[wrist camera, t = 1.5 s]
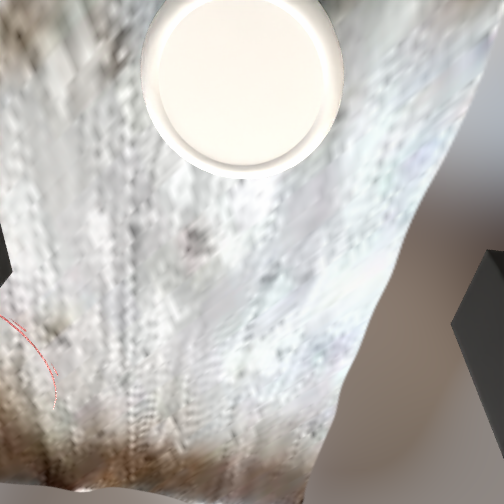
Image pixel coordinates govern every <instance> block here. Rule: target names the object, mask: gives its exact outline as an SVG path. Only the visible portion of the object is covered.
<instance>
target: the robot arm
mask: <svg viewBox="0 0 504 504" xmlns="http://www.w3.org/2000/svg"><path fill="white" fill-rule="evenodd" d="M11 273H12V268H11V264H10V260H9V256H8V252H7V248H6V244H5V240H4V236H3V232H2V228H1V224H0V287H1V286H2V285H3V284H4V282H5V281H6V280H7V278H8V277H9V276H10V275H11ZM451 326H452V329H453V331H454V334H455V336H456V339H457V341H458V344H459V346H460V349H461V352H462V354H463V357H464V359H465V362H466V364H467V367H468V369H469V372H470V375H471V377H472V379H473V382H474V385H475V387H476V389H477V392H478V395H479V397H480V400H481V402H482V405H483V407H484V410H485V412H486V415H487V417H488V420H489V423H490V425H491V428H492V430H493V433H494V435H495V438H496V440H497V443H498V445H499V448H500V450H501V453H502V456H503V458H504V251H496V250H486V252H485V255H484V257H483V259H482V261H481V263H480V265H479V267H478V269H477V271H476V273H475V275H474V277H473V279H472V281H471V284H470V285H469V287H468V289H467V292H466V294H465V296H464V298H463V300H462V302H461V304H460V306H459V308H458V310H457V312H456V314H455V316H454V318H453V320H452V322H451Z"/></svg>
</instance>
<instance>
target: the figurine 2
mask: <svg viewBox="0 0 504 504" xmlns="http://www.w3.org/2000/svg"><path fill="white" fill-rule="evenodd" d="M0 317H1V318H3V319H4V320H6V321H7V322H8V323H9V324H10V325H12V326H13V327H14V328H15V329H16V330H18V331H19V332H20V333H21V334H22V335H23V336H24V337H25V338H26V339H27V340H28V341H29V342H30V343H31V344H32V345H33V347H34V348H35V349H36V350H37V352H38V353H39V354H40V356H41V357H42V359H43V360H44V361H45V363H46V365H47V367H48V369H49V371H50V373H51V375H52V378H53V374H52V372H51V370H50V368H49V366H48V364H47V362H46V360H45V359H44V358H43V356H42V355H41V353H40V352H39V351H38V349H37V348H36V346H35V345H34V344H33V343H32V342H31V341H30V340H29V339H28V338H27V337H26V336H25V335H24V334H23V333H22V332H21V331H20V330H19V329H18V328H16V327H15V326H14V325H13V324H12V323H10V322H9V321H8V320H7V319H6V318H4V317H3V316H1V315H0ZM11 320H12V319H11ZM12 321H13V320H12ZM13 322H14V321H13ZM15 323H16V322H15ZM16 324H17V323H16ZM17 325H18V324H17ZM18 326H19V327H21V326H20V325H18ZM21 328H22V327H21ZM22 329H23V330H24V331H25V332H26V330H25V329H24V328H22ZM52 366H53V365H52ZM53 368H54V367H53ZM54 370H55V369H54ZM55 372H56V370H55ZM56 374H57V372H56ZM57 376H58V374H57ZM53 382H54V378H53ZM54 386H55V395H56V385H55V382H54ZM55 402H56V401H55ZM54 406H55V405H54ZM53 410H54V409H53Z"/></svg>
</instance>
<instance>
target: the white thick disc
mask: <svg viewBox="0 0 504 504" xmlns="http://www.w3.org/2000/svg"><path fill="white" fill-rule="evenodd" d="M141 84H142V92H143V96H144V101H145V105H146V107H147V110H148V113H149V115H150V117H151V119H152V121H153V123H154V125H155V127H156V129H157V130H158V132H159V133H160V135H161V136H162V138H163V139H164V140H165V141H166V142H167V143H168V145H169V146H170V147H171V148H172V149H173V150H174V151H175V152H177V153H178V154H179V155H180V156H181V157H183V158H184V159H185V160H187V161H188V162H190V163H191V164H193V165H195V166H197V167H199V168H200V169H203V170H205V171H207V172H210V173H212V174H216V175H220V176H223V177H230V178H239V179H252V178H261V177H266V176H270V175H274V174H277V173H280V172H282V171H285V170H287V169H289V168H291V167H293V166H295V165H296V164H298V163H299V162H301V161H302V160H304V159H305V158H306V157H307V156H308V155H309V154H311V153H312V152H313V151H314V150H315V149H316V148H317V146H318V145H319V144H320V143H321V142H322V141H323V139H324V138H325V136H326V135H327V133H328V132H329V130H330V128H331V126H332V124H333V123H334V121H335V118H336V116H337V113H338V110H339V107H340V103H341V99H342V94H343V86H344V65H343V57H342V52H341V49H340V45H339V41H338V39H337V36H336V34H335V31H334V28H333V26H332V24H331V21H330V19H329V17H328V15H327V14H326V12H325V10H324V8H323V7H322V6H321V4H320V3H319V2H318V0H166V1H165V3H164V4H163V5H162V7H161V8H160V9H159V11H158V12H157V13H156V15H155V17H154V19H153V21H152V22H151V24H150V26H149V29H148V32H147V34H146V37H145V40H144V44H143V49H142V55H141Z"/></svg>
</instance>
